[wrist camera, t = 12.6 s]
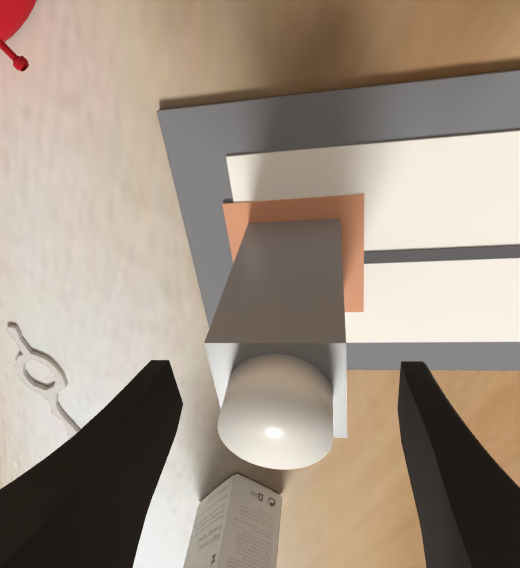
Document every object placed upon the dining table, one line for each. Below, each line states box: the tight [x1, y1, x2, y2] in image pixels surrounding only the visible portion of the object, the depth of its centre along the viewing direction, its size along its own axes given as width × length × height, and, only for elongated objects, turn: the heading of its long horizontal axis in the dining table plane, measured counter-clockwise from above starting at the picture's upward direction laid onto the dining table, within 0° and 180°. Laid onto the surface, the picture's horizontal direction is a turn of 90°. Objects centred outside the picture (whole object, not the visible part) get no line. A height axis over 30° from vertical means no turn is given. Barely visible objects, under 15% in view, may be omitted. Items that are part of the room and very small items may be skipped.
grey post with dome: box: [204, 218, 347, 470], centre depth 16 cm, size 4×4×10 cm
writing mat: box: [157, 69, 520, 371], centre depth 19 cm, size 22×14×1 cm, turn 97°
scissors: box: [6, 325, 80, 439], centre depth 31 cm, size 11×1×20 cm
